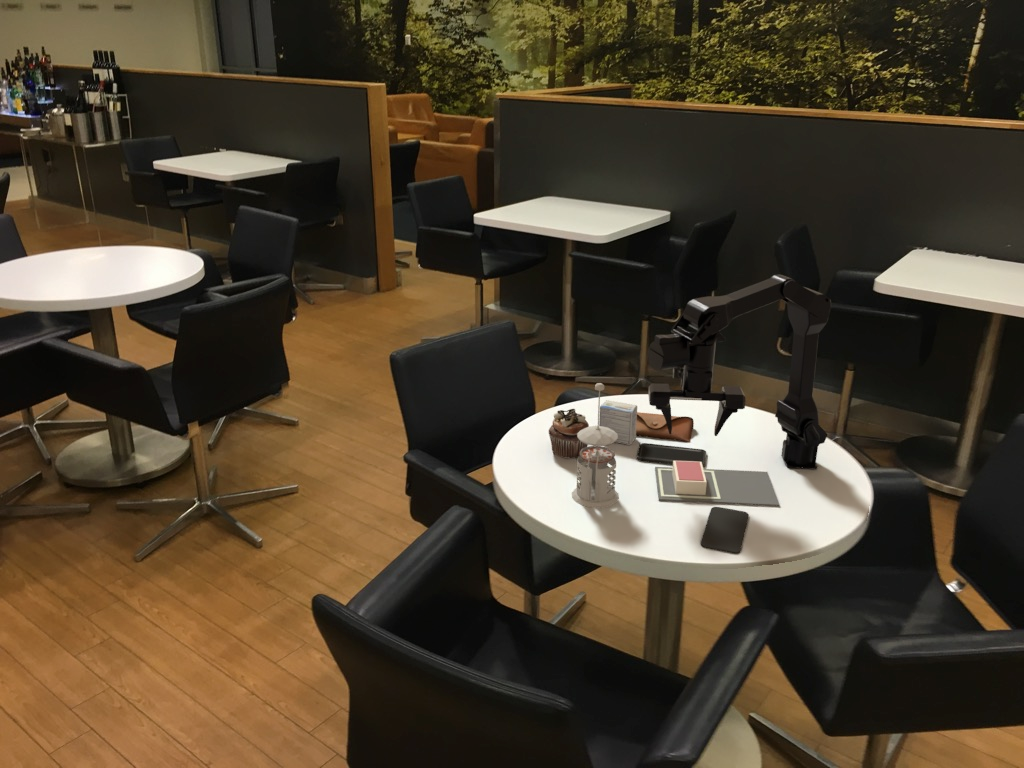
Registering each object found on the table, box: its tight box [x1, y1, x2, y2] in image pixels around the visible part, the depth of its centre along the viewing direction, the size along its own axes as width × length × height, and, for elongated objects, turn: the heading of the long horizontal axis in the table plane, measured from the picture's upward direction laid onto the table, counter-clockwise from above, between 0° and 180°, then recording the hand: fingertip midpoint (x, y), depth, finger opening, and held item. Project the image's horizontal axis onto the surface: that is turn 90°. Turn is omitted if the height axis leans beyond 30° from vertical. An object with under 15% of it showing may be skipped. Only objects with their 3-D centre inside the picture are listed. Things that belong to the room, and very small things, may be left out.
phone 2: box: [636, 442, 707, 468], centre depth 190 cm, size 8×1×15 cm
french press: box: [571, 382, 620, 509], centre depth 169 cm, size 10×12×25 cm
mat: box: [654, 466, 781, 507], centre depth 177 cm, size 24×14×1 cm, turn 84°
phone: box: [700, 506, 750, 555], centre depth 162 cm, size 7×1×15 cm
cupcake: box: [548, 408, 590, 459], centre depth 191 cm, size 10×10×10 cm
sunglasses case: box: [636, 411, 695, 443], centre depth 202 cm, size 18×7×7 cm, turn 77°
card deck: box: [672, 461, 707, 495], centre depth 177 cm, size 9×6×3 cm, turn 175°
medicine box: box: [599, 399, 638, 446], centre depth 197 cm, size 8×4×9 cm, turn 65°
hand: (692, 434), depth 174 cm, fingers open, 9 cm apart
